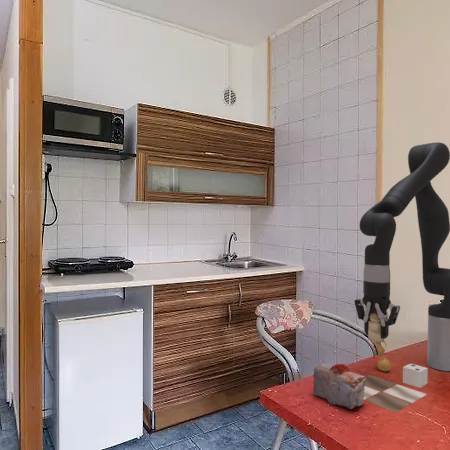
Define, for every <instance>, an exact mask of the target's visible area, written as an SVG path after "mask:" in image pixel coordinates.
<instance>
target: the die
mask: <svg viewBox="0 0 450 450" xmlns="http://www.w3.org/2000/svg"><path fill="white" fill-rule="evenodd" d="M428 370H429V369H428V367H425V366H421V365H418V364H414V363H408V364H407V365H404V366H402V383H403V384H406V385H409V386H412V387H414V388H419V389H420V388H423V387H424V386H426V385H428Z"/></svg>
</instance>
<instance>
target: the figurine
mask: <svg viewBox="0 0 450 450" xmlns="http://www.w3.org/2000/svg"><path fill="white" fill-rule="evenodd" d="M382 343H383V344H385V346H386V347H388V344H387V343H386V341H385V340H384V341H383V342H382ZM382 343H381V342H373V341H371V346H372V349H373V351H374V352H376V349H377V350H378V357H379V360H377V361H378V362H377V368H378V369H379V370H380V371H381V372H388V371H390V370H391V367H392V365H391V362H390V361H389V360H388V359H387V358H386V357H385V356H384V355H383V354H384V353H386V349H385V348H384V346H383V344H382ZM375 347H376V348H375Z"/></svg>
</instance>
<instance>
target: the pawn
mask: <svg viewBox="0 0 450 450" xmlns="http://www.w3.org/2000/svg"><path fill="white" fill-rule="evenodd" d="M381 326H382V325H381V321H380V319H379V317H378V314H376V313H372V314H371V315H370V320H369V321H368V335H367V336H368V337H367V339H368V340H369V341H373V343H375V342H380V343H384V342H383V341H385V339H381Z"/></svg>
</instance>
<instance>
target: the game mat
mask: <svg viewBox="0 0 450 450" xmlns="http://www.w3.org/2000/svg"><path fill="white" fill-rule="evenodd" d="M364 389H365V390H364V402H368V403H369V404H373V405H375V406H377V407H381V408H382V409H386V410H388V411H391V412H392V413H396V414H397V413H398V412H400V411H401V410H403V409H405V408H406V407H408V406H410V405H412V404H413V403H415V402H417V401H419V400H420V399H421V398H423V397H425V396H427V395H428V394H427V393H425V392H422V391H419V390H416V389H412V388H410V387H406V386H404V385H400V384H398V383H395V382H392V381H389V380H386V379H383V378H380V377H377V376H373V375H371V374H368V375H366V382H365V386H364Z"/></svg>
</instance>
